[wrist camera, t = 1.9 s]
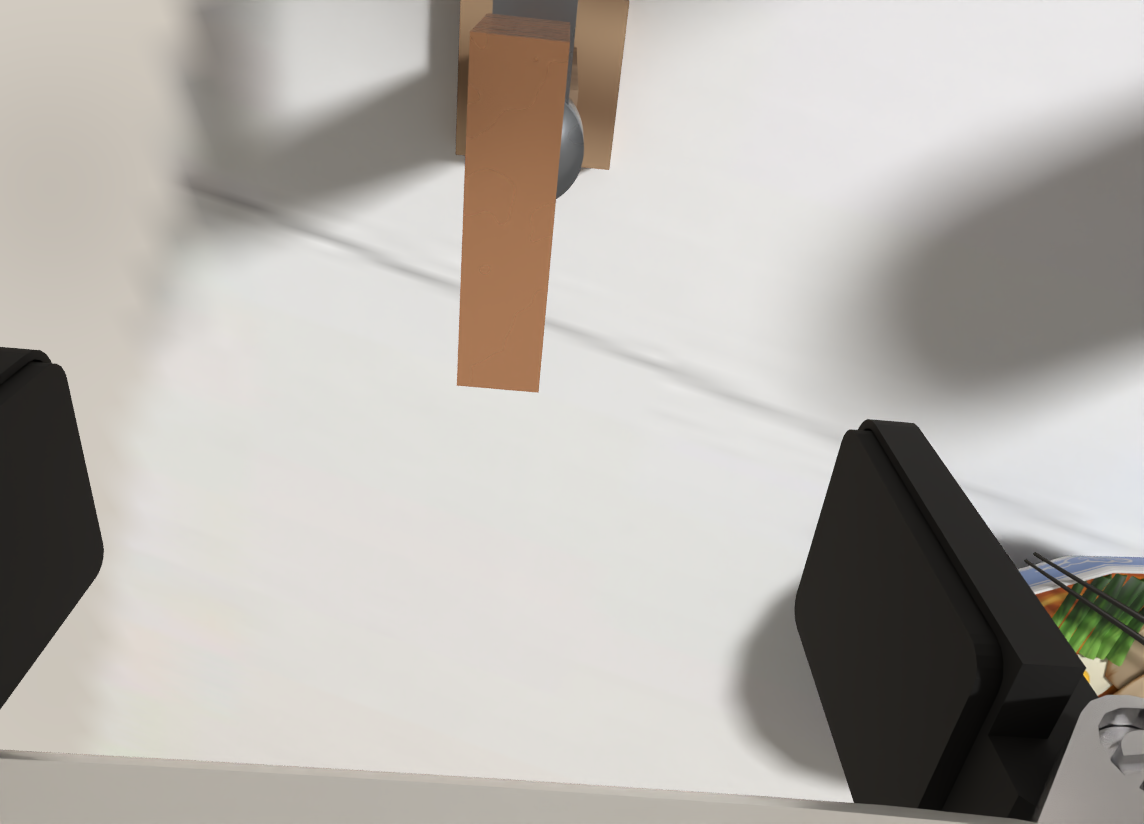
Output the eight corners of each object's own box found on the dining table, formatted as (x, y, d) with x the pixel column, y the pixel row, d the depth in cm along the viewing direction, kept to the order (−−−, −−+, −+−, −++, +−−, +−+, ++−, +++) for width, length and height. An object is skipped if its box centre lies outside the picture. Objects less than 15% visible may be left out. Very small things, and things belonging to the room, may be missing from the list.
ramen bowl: (763, 655, 56) (790, 760, 49) (1040, 407, 47) (1124, 493, 40) (1017, 796, 63) (1074, 906, 56) (1301, 605, 54) (1411, 708, 47)
